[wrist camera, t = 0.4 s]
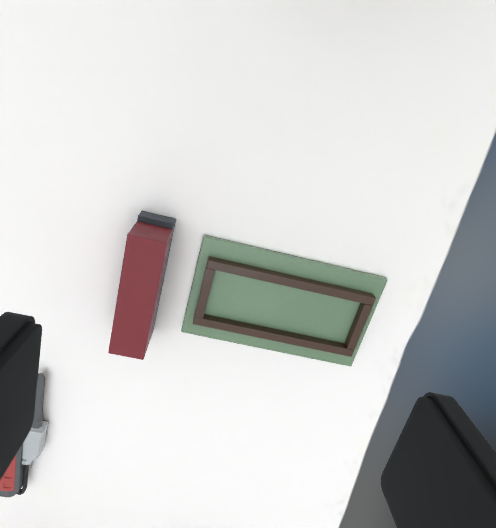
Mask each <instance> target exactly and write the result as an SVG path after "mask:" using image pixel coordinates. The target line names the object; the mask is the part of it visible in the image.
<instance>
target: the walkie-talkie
mask: <svg viewBox="0 0 496 528" xmlns="http://www.w3.org/2000/svg"><path fill="white" fill-rule="evenodd" d="M44 384H45V376H44V375H43V374H42V373H40V374H38V379H37V390H36V401H35V412H34V420H33V424H32V427H31V429H30V432H29V434H28V436H27V437H26V439H25V441H24V442H23V444H22V445H21V447H20V449H19V450H18V452H17V454H16V455H15V457H14V459H13V460H12V462H11V464H10V465H9V467H8V468H7V470H6V472H5V473H4V475H3V477H2V478H1V480H0V496H2V497H12V496H14V495H15V494H18V495H21V494H23V493H24V492H25V490H26V488H27V478H28V466H29V465H31V463H32V461H33V460H34V459H35V458H37V457H38V456H39V455H40V453H41V451H42V450H43V448H44V446H45V439H46V429H47V428H48V422H46V421H43V416H42V411H43V398H44ZM22 485H23V489H21V487H22Z"/></svg>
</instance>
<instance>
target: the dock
mask: <svg viewBox="0 0 496 528" xmlns="http://www.w3.org/2000/svg"><path fill="white" fill-rule="evenodd" d="M386 282H387V278H385V277H381V276H377V275H373V274H368V273H364V272H360V271H356V270H351V269H347V268H343V267H339V266H334V265H330V264H326V263H322V262H317V261H313V260H309V259H305V258H300V257H296V256H292V255H288V254H283V253H279V252H275V251H271V250H266V249H262V248H258V247H254V246H249V245H245V244H241V243H237V242H232V241H228V240H224V239H220V238H215V237H211V236H207V235H204V237H203V241H202V245H201V249H200V254H199V258H198V262H197V267H196V271H195V275H194V279H193V284H192V288H191V292H190V297H189V301H188V305H187V309H186V314H185V318H184V322H183V327H182V332H185V333H190V334H194V335H199V336H204V337H209V338H214V339H219V340H224V341H229V342H234V343H239V344H244V345H249V346H253V347H258V348H263V349H268V350H273V351H278V352H283V353H288V354H293V355H298V356H303V357H307V358H312V359H317V360H322V361H327V362H332V363H337V364H342V365H347V366H351V365H352V363H353V361H354V358H355V356H356V353H357V351H358V349H359V346H360V344H361V342H362V339H363V337H364V334H365V332H366V330H367V327H368V325H369V323H370V320H371V318H372V315H373V313H374V311H375V308H376V306H377V304H378V301H379V299H380V296H381V294H382V292H383V289H384V287H385V285H386Z"/></svg>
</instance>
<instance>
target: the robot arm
mask: <svg viewBox="0 0 496 528" xmlns="http://www.w3.org/2000/svg"><path fill="white" fill-rule="evenodd" d="M41 335H42V326H41V325H40V324H35V320H34V318H33V317H32V316H27V315H22V314H16V313H11V312H5V313H4V314H2V315H1V316H0V480H1V478H2V477H3V475H4V473H5V472H6V470H7V468H8V467H9V465H10V464H11V462H12V460H13V459H14V457H15V455H16V454H17V452H18V450H19V449H20V447H21V445H22V444H23V442H24V441H25V439H26V437H27V436H28V434H29V432H30V429H31V427H32V424H33V420H34V412H35V401H36V390H37V379H38V368H39V357H40V346H41ZM381 487H382V491H383V493H384V496H385V498H386V501H387V503H388V506H389V508H390V511H391V513H392V516H393V518H394V521H395V524H396V526H397V528H496V453H495V451H494V450H493V449H492V448H491V446H490V445H489V444H488V442H487V441H486V440H485V438H484V437H483V436H482V434H481V433H480V432H479V431H478V429H477V428H476V427H475V425H474V424H473V423H472V421H471V420H470V419H469V418H468V416H467V415H466V414H465V412H464V411H463V410H462V408H461V407H460V406H459V404H458V403H457V402H456V401H455V399H454V398H453V397H450V396H446V395H441V394H436V393H431V392H429V393H426V394H425V395H424V396H423V397H420V398H418V400H417V401H416V403H415V405H414V407H413V409H412V412H411V414H410V416H409V418H408V420H407V422H406V424H405V426H404V429H403V431H402V433H401V435H400V437H399V439H398V441H397V443H396V446H395V448H394V450H393V452H392V454H391V456H390V458H389V460H388V462H387V464H386V467H385V469H384V471H383V473H382V476H381Z"/></svg>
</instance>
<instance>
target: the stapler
mask: <svg viewBox="0 0 496 528" xmlns="http://www.w3.org/2000/svg"><path fill="white" fill-rule="evenodd" d="M175 221H176V219H174V218H170V217H166V216H162V215H157V214H153V213H149V212H145V211H141V213H140V214H139V215H138V220H137V222H136V224H135V225H134V226H133V228H132V229H131V230H130V232H129V233H128V235H127V241H126V247H125V253H124V259H123V266H122V272H121V278H120V284H119V290H118V296H117V303H116V309H115V315H114V321H113V327H112V333H111V340H110V346H109V352H108V353H111V354H116V355H121V356H126V357H131V358H137V359H142V360H143V359H144V356H145V353H146V350H147V347H148V344H149V341H150V339H151V336H152V333H153V329H154V324H155V319H156V314H157V309H158V305H159V300H160V295H161V290H162V285H163V280H164V275H165V270H166V265H167V260H168V256H169V251H170V246H171V241H172V236H173V231H174V226H175Z"/></svg>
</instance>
